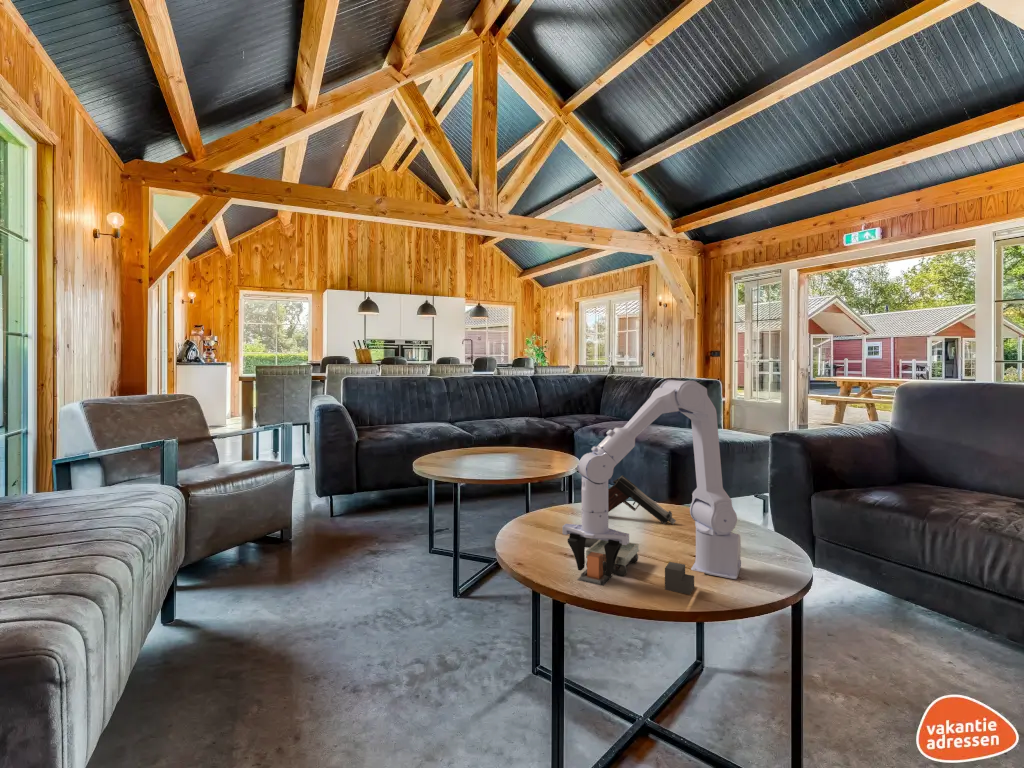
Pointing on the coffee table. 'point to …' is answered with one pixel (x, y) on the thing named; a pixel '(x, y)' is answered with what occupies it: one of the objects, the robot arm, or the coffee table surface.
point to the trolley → (623, 558)
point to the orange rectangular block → (595, 565)
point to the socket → (597, 581)
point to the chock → (678, 579)
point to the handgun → (635, 499)
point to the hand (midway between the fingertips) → (595, 571)
